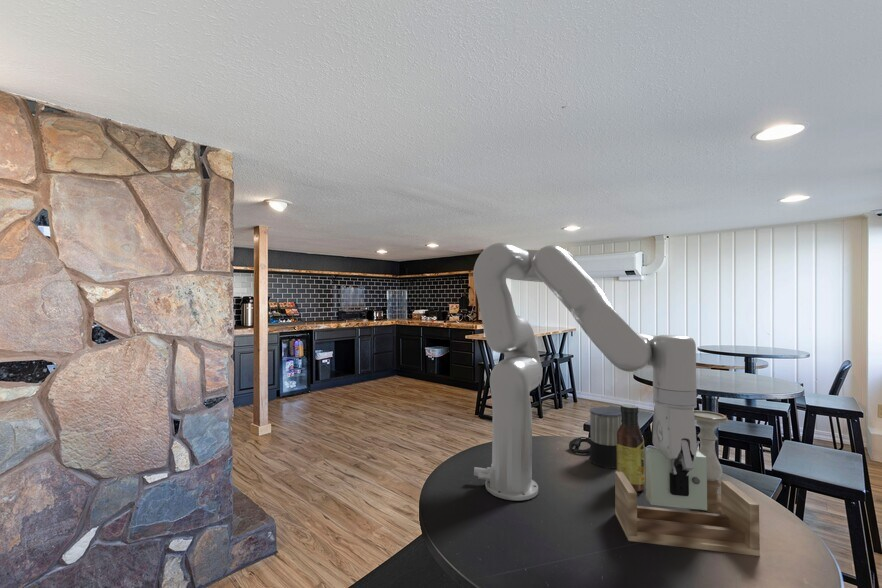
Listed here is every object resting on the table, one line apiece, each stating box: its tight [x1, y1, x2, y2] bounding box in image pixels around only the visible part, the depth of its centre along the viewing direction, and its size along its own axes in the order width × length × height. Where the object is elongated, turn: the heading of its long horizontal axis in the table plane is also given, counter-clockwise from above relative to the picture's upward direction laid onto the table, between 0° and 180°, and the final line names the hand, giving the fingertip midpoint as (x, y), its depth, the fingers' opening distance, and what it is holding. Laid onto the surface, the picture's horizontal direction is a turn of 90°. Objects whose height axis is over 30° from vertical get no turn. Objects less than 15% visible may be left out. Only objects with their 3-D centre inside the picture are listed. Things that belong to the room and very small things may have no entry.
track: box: [614, 470, 761, 557], centre depth 77 cm, size 22×10×9 cm, turn 79°
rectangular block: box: [645, 447, 707, 511], centre depth 77 cm, size 10×4×10 cm, turn 79°
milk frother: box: [568, 406, 622, 469], centre depth 117 cm, size 14×16×15 cm
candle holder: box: [693, 409, 729, 514], centre depth 89 cm, size 9×9×20 cm
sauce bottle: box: [616, 403, 646, 493], centre depth 98 cm, size 7×6×20 cm
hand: (675, 489), depth 78 cm, fingers closed on rectangular block, 3 cm apart
